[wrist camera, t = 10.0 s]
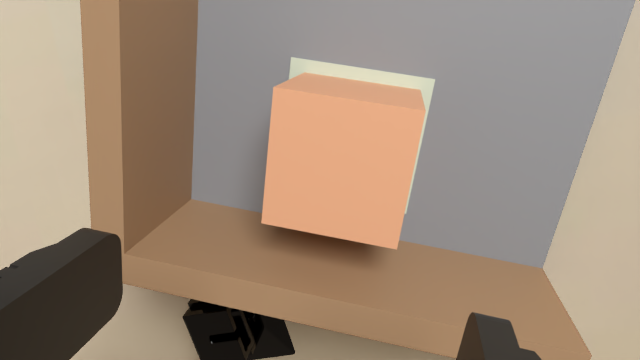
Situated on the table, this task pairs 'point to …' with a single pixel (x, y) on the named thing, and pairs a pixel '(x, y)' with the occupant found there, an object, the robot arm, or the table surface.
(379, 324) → the arena
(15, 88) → the table surface
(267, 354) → the black notched block
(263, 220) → the cube
